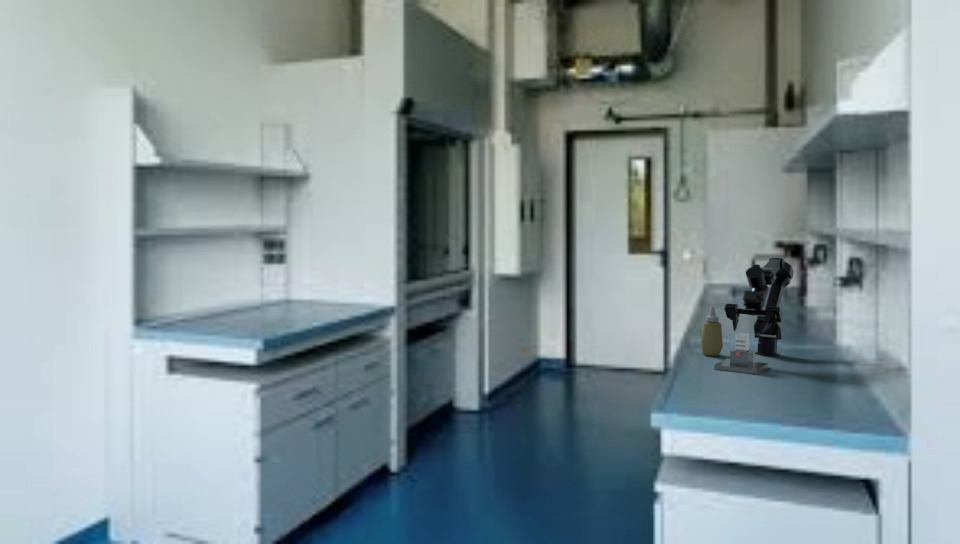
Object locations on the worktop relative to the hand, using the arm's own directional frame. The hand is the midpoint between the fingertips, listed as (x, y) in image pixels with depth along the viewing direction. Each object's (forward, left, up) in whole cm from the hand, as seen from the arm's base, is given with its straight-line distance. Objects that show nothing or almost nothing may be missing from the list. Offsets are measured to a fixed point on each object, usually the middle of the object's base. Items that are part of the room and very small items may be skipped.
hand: (747, 331), depth 259 cm
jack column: (+6, +3, -10) cm, 12 cm away
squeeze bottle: (-4, -21, -12) cm, 25 cm away
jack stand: (+5, +3, -12) cm, 13 cm away
